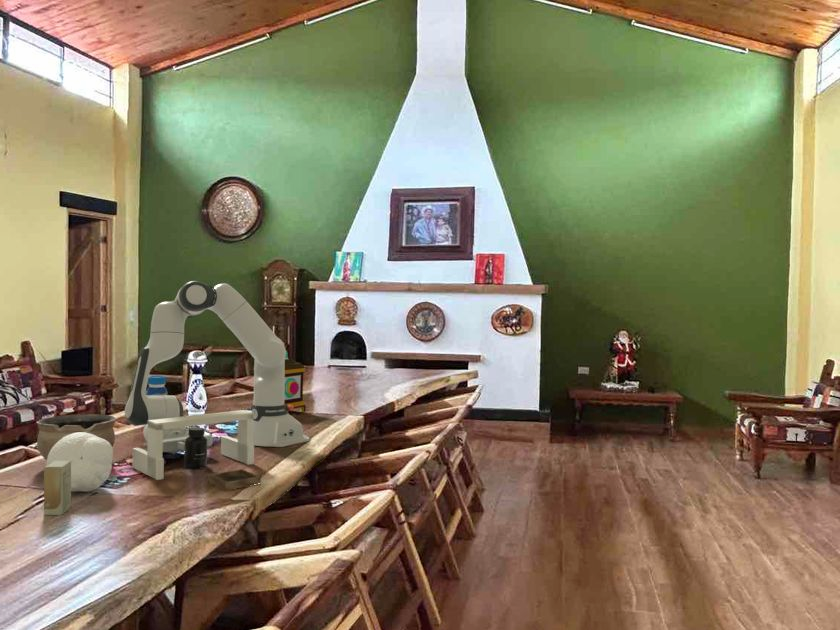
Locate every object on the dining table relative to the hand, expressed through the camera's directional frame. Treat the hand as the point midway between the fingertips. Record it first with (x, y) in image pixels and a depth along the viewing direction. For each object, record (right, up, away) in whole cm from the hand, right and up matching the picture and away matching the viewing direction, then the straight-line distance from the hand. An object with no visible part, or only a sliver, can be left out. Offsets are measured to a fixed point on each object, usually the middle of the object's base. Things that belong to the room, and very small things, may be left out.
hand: (191, 446), depth 229 cm
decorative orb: (-20, -6, -31) cm, 37 cm away
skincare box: (-18, -7, -49) cm, 53 cm away
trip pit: (+19, -7, -20) cm, 28 cm away
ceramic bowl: (-33, -5, -7) cm, 34 cm away
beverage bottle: (-32, -2, +58) cm, 66 cm away
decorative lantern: (+9, -2, +95) cm, 96 cm away
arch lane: (+1, -6, -1) cm, 6 cm away
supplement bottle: (+2, -6, -2) cm, 7 cm away
